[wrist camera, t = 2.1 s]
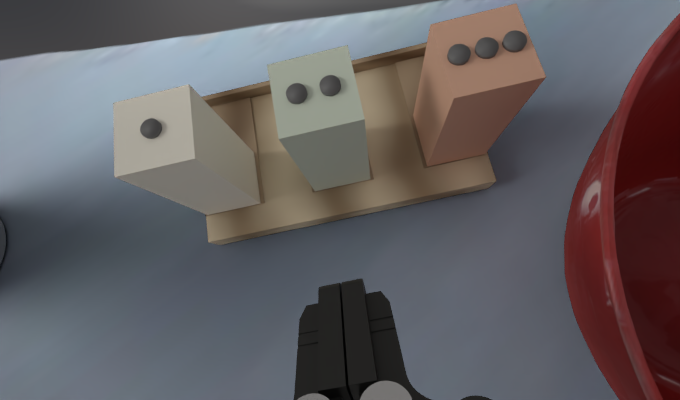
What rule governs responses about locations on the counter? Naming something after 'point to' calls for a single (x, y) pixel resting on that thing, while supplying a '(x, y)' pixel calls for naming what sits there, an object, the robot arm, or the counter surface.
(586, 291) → the mixing bowl
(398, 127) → the board
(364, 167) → the grey green block
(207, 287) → the counter surface
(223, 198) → the grey rectangular block
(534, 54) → the key
